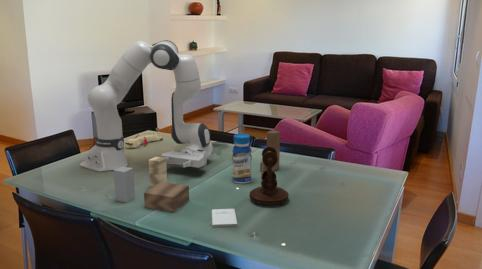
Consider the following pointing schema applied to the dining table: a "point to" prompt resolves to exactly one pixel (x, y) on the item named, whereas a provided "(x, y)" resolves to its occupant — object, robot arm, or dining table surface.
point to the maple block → (157, 171)
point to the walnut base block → (166, 196)
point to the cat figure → (143, 139)
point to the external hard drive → (224, 218)
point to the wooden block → (274, 142)
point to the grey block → (124, 184)
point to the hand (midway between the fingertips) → (173, 164)
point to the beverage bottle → (241, 159)
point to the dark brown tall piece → (269, 182)
